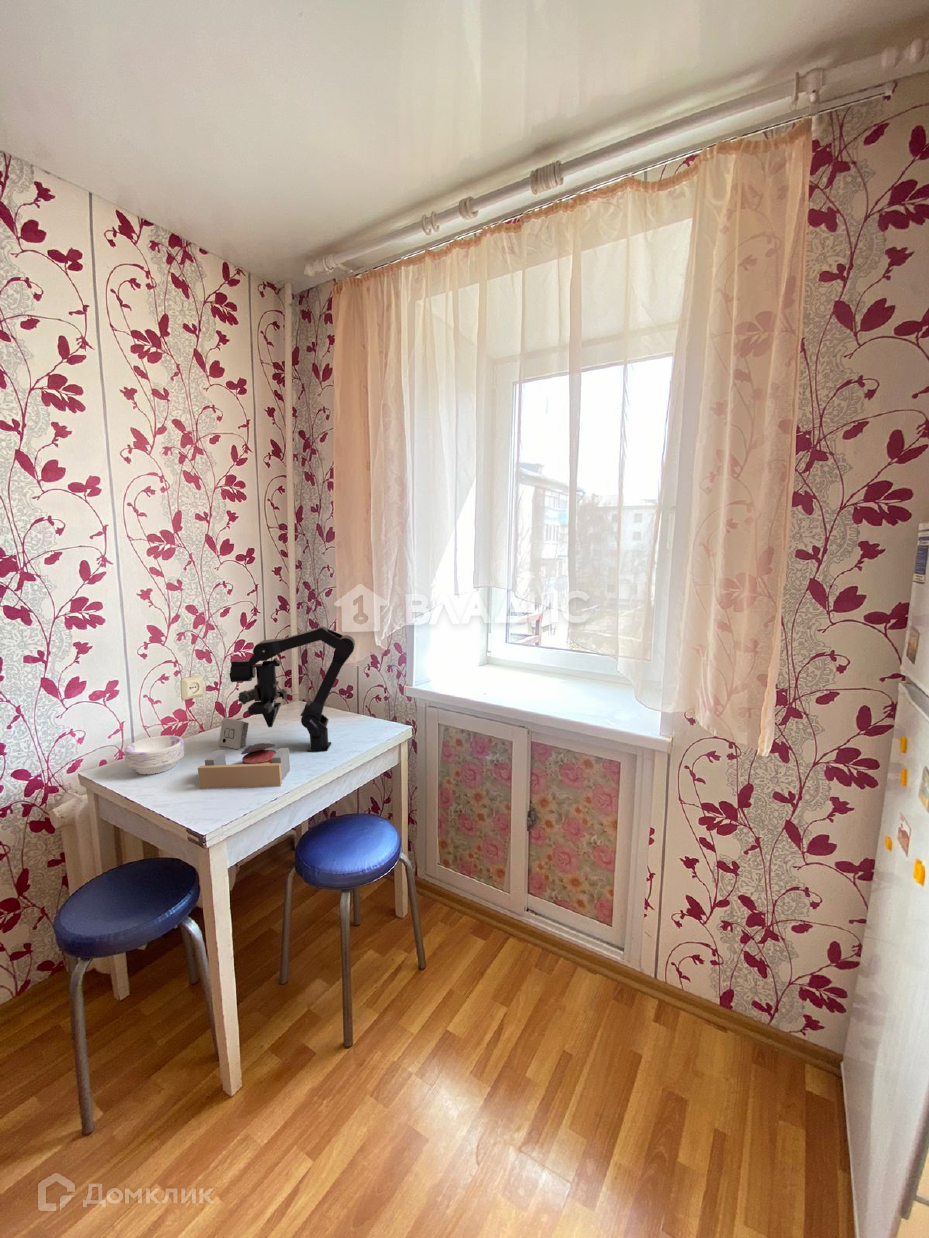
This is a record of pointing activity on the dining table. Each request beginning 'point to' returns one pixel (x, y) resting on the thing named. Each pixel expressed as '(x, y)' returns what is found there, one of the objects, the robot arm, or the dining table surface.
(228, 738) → the electrical switch
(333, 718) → the dining table surface
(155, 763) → the paper bowls
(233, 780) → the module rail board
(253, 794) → the dining table surface
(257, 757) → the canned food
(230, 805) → the dining table surface
